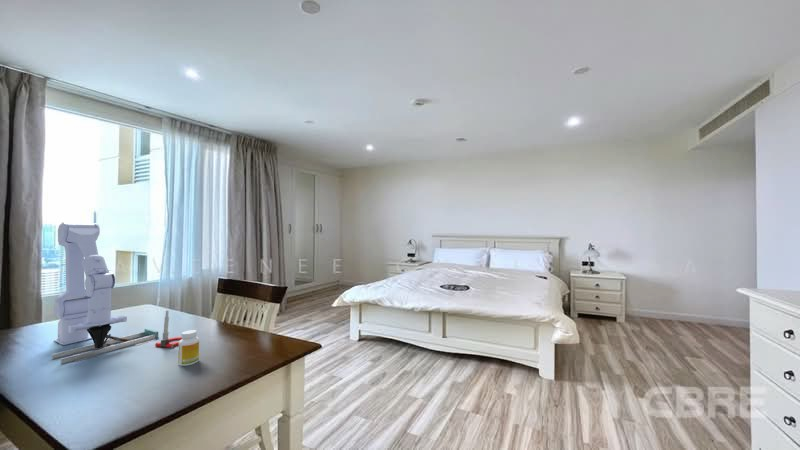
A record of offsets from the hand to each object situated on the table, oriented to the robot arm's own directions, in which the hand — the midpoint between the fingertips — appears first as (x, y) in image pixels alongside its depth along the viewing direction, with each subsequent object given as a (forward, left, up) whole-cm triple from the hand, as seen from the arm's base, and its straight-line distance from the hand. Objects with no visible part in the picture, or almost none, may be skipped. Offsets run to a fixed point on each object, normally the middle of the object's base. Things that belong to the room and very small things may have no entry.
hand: (98, 347), depth 106 cm
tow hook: (+15, +16, -1) cm, 22 cm away
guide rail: (0, +3, -1) cm, 3 cm away
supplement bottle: (+37, +9, -1) cm, 38 cm away
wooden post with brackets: (+1, +5, -1) cm, 5 cm away
